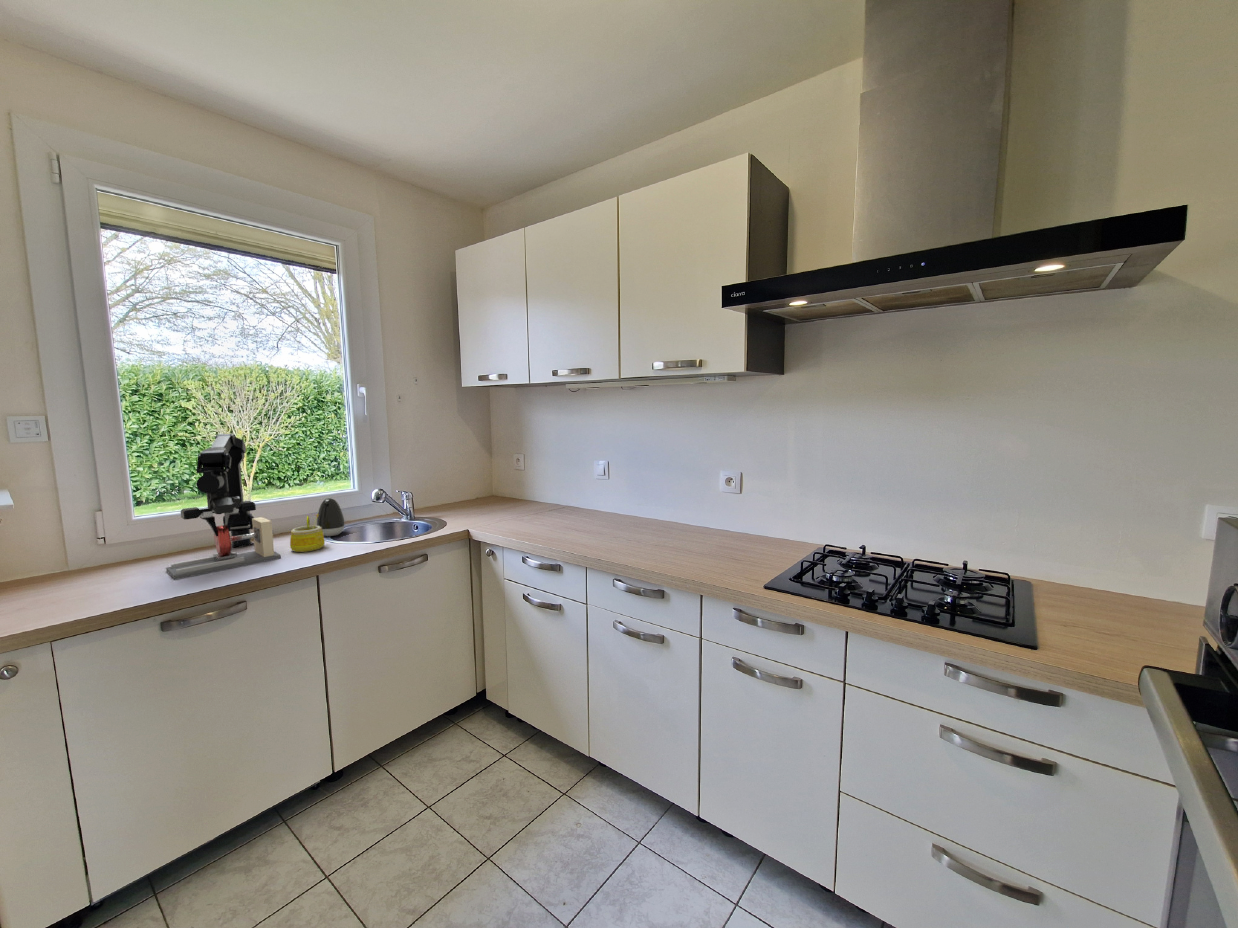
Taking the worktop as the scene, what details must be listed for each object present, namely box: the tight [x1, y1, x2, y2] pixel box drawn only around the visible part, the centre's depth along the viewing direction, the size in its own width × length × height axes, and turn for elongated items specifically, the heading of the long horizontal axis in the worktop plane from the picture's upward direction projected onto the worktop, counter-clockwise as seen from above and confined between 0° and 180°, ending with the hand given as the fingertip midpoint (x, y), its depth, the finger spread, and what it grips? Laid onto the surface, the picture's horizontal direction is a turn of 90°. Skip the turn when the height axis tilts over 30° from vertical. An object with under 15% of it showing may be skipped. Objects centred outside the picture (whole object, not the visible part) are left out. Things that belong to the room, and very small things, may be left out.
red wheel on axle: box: [212, 524, 274, 562], centre depth 170 cm, size 10×16×12 cm, turn 140°
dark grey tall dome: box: [315, 497, 346, 537], centre depth 204 cm, size 10×10×15 cm
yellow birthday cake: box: [289, 513, 325, 553], centre depth 184 cm, size 13×11×12 cm
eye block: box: [165, 516, 282, 581], centre depth 166 cm, size 13×28×13 cm, turn 140°
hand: (222, 535), depth 165 cm, fingers closed on red wheel on axle, 2 cm apart
